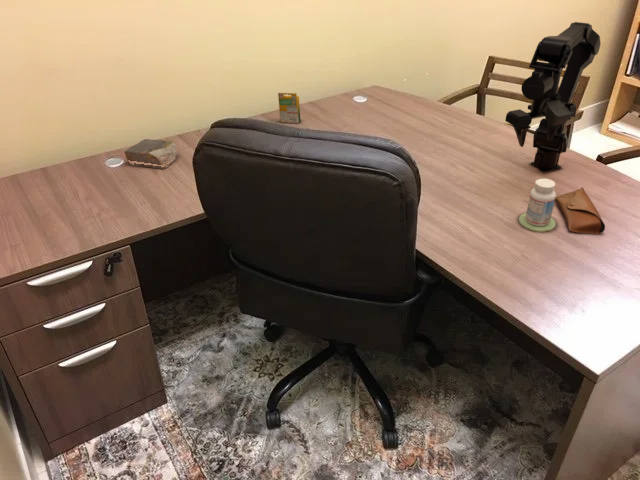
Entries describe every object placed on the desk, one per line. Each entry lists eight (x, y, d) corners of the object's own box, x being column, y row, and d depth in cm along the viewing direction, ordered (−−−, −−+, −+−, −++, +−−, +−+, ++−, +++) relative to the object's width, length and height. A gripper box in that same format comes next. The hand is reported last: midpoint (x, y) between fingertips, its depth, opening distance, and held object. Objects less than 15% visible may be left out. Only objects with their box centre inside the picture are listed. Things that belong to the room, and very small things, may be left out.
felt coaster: (539, 210, 144) (540, 209, 144) (563, 227, 137) (563, 225, 137) (511, 217, 142) (511, 216, 142) (533, 235, 135) (533, 233, 135)
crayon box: (300, 120, 205) (298, 90, 198) (298, 123, 202) (296, 93, 196) (282, 119, 206) (279, 90, 200) (280, 122, 204) (277, 92, 197)
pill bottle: (544, 213, 142) (552, 176, 136) (553, 226, 137) (562, 187, 131) (521, 215, 142) (529, 177, 136) (529, 227, 137) (538, 189, 131)
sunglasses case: (550, 196, 149) (567, 177, 145) (570, 207, 151) (587, 189, 147) (569, 232, 134) (589, 212, 131) (591, 244, 136) (611, 225, 132)
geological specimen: (141, 138, 185) (178, 139, 180) (146, 154, 188) (182, 156, 183) (122, 150, 177) (161, 152, 172) (127, 167, 180) (165, 169, 175)
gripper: (536, 103, 131) (525, 161, 140) (597, 92, 136) (583, 148, 145) (508, 90, 140) (500, 145, 149) (567, 79, 145) (555, 133, 154)
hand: (535, 143), depth 149 cm, fingers open, 9 cm apart
